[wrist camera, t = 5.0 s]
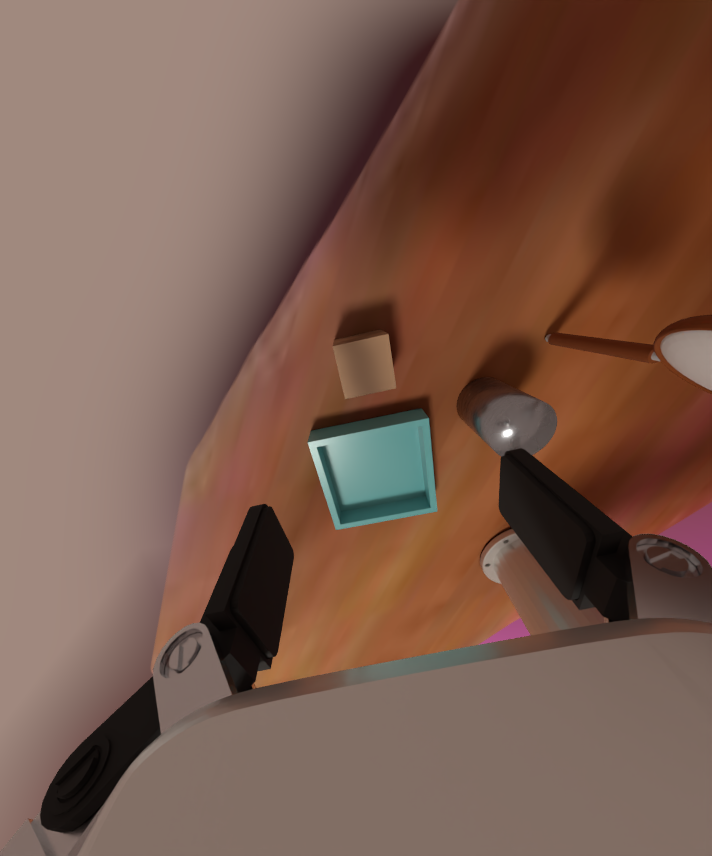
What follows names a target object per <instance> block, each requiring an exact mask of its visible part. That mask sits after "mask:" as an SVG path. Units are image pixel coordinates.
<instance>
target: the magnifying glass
mask: <svg viewBox="0 0 712 856" xmlns="http://www.w3.org/2000/svg"><path fill="white" fill-rule="evenodd" d="M545 340H546V341H547V342H549V344H551V345H556V346H562V347H567V348H572V349H578V350H583V351H588V352H594V353H599V354H605V355H610V356H615V357H621V358H626V359H631V360H637V361H642V362H647V363H656V362H658V361H661V362H662V363H663V364H664V365H665V366H666V367H667V368H668V369H669V370H671V371H672V372H673V373H675V374H676V375H677V376H679V377H680V378H682V379H683V380H685V381H687V382H689V383H690V384H692V385H694V386H696V387H698V388H700V389H702V390H704V391H706V392H708V393H710V394H712V315H704V316H696V317H690V318H686V319H682V320H680V321H677V322H675V323H673V324H671V325H669V326H668V327H666V328H665V329H663V330H662V331H661V332H660V333H659V334H658V336H657V337H656V339H655V341H654V344H653V345H650V344H642V343H634V342H626V341H618V340H610V339H602V338H594V337H586V336H578V335H570V334H563V333H553V334H549V335H547V336H546V338H545Z"/></svg>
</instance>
